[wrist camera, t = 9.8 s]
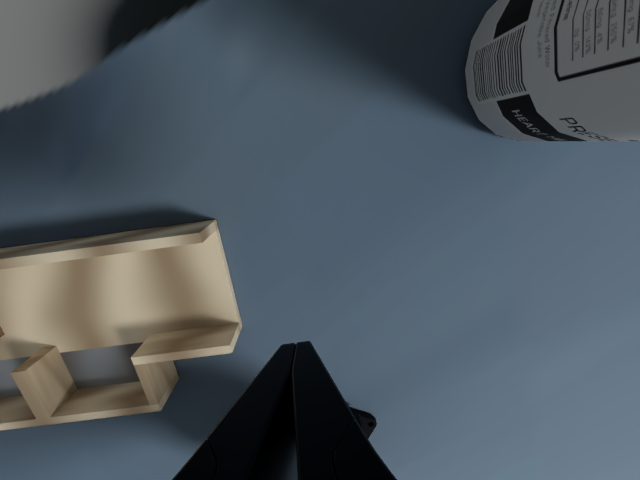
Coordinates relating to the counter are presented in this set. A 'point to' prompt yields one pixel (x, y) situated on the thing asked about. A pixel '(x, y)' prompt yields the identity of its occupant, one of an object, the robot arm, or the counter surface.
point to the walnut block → (1, 332)
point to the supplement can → (557, 70)
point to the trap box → (109, 321)
